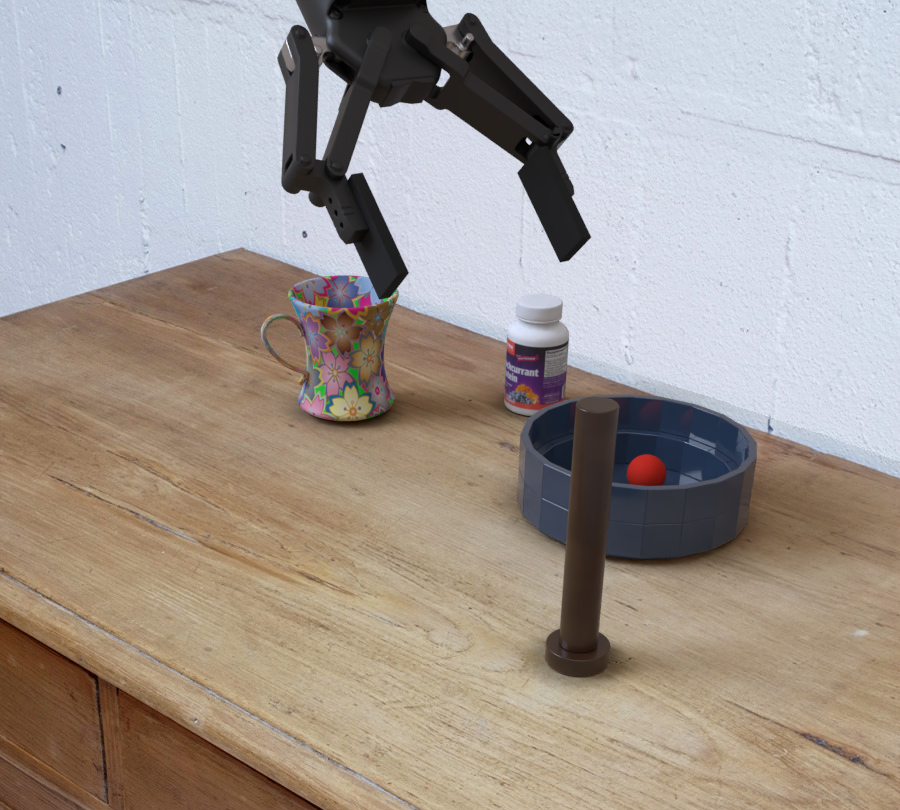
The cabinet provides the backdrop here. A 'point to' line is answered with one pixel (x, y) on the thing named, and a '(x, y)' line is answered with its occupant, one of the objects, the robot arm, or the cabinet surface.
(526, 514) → the bowl
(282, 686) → the cabinet surface
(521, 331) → the pill bottle
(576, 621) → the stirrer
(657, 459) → the red ball
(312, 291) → the mug
